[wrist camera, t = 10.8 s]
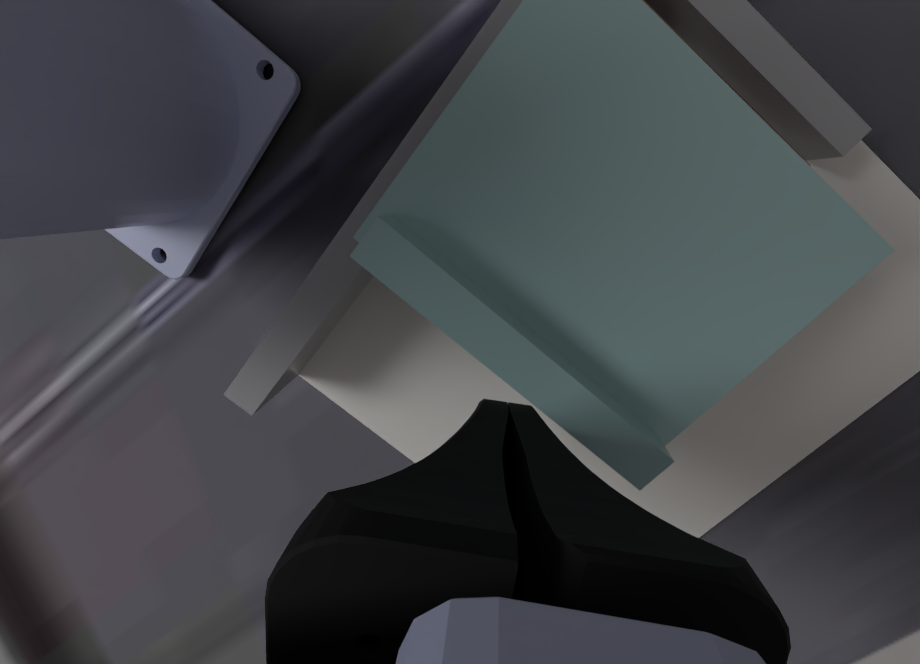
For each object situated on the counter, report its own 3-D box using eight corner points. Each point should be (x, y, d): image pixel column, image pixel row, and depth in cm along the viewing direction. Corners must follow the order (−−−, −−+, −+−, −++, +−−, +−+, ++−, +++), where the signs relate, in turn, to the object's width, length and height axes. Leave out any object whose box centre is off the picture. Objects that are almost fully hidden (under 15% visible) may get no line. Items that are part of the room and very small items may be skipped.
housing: (281, 352, 16) (223, 394, 13) (610, -99, 12) (655, -219, 8) (603, 596, 18) (626, 689, 15) (998, 294, 14) (1165, 328, 10)
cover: (363, 234, 11) (333, 243, 9) (566, -46, 9) (584, -112, 7) (628, 451, 12) (652, 500, 10) (865, 245, 10) (950, 258, 8)
